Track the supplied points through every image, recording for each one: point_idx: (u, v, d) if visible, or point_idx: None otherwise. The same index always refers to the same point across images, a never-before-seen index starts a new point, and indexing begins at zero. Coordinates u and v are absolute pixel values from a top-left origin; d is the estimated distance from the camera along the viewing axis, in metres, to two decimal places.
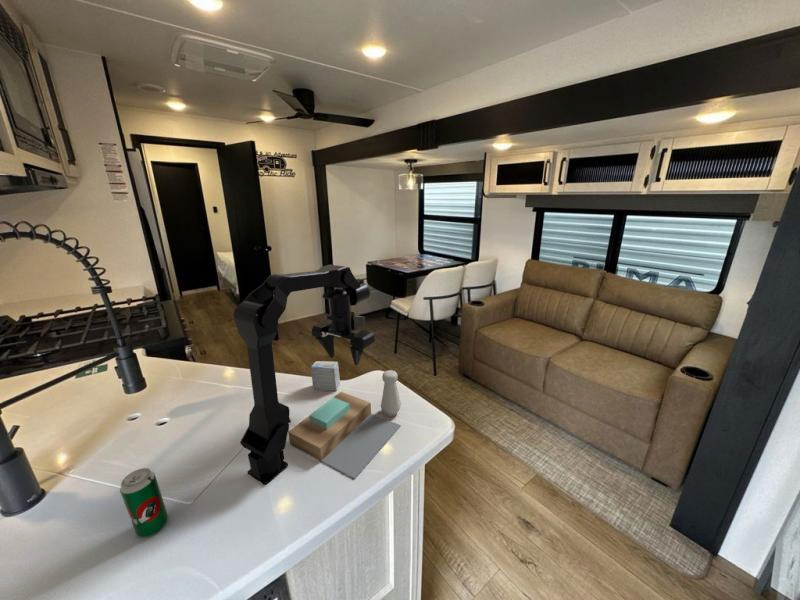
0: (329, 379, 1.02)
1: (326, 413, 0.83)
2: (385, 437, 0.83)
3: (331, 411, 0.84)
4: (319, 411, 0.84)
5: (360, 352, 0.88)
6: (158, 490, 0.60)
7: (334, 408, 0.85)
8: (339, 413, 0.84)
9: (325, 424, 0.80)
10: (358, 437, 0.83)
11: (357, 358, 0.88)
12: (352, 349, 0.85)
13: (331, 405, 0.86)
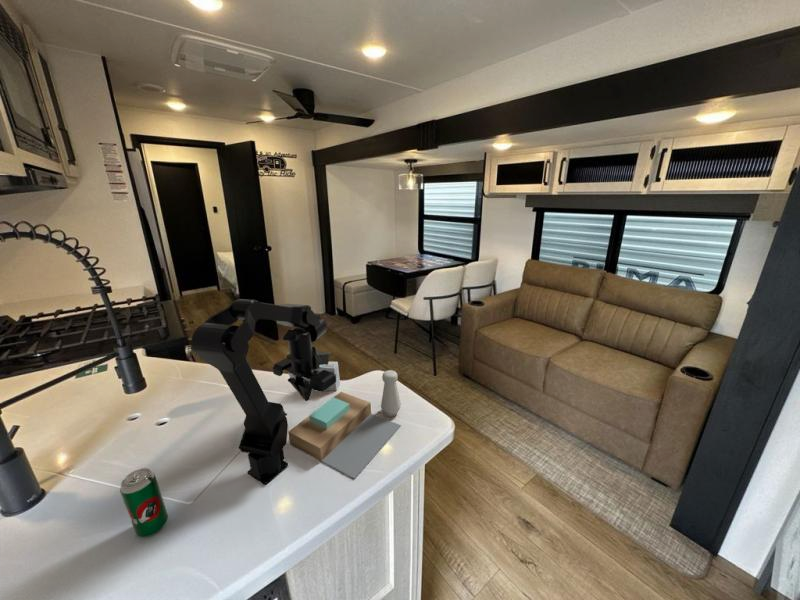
0: None
1: (326, 413, 0.83)
2: (385, 437, 0.83)
3: (331, 411, 0.84)
4: (319, 411, 0.84)
5: (310, 388, 0.87)
6: (158, 490, 0.60)
7: (334, 408, 0.85)
8: (339, 413, 0.84)
9: (325, 424, 0.80)
10: (358, 437, 0.83)
11: (307, 394, 0.87)
12: (300, 386, 0.84)
13: (331, 405, 0.86)
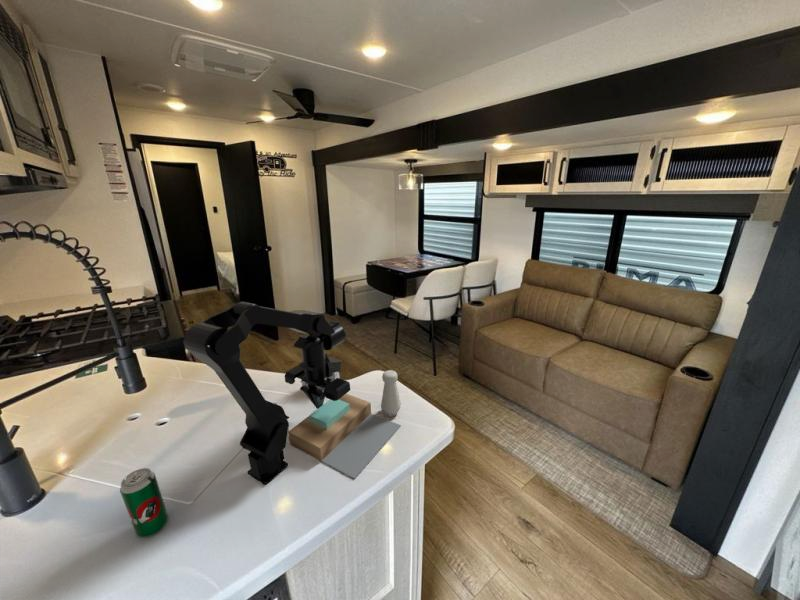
0: None
1: (326, 413, 0.83)
2: (385, 437, 0.83)
3: (331, 411, 0.84)
4: (319, 411, 0.84)
5: (323, 396, 0.86)
6: (158, 490, 0.60)
7: (334, 408, 0.85)
8: (339, 413, 0.84)
9: (325, 424, 0.80)
10: (358, 437, 0.83)
11: (319, 403, 0.85)
12: (313, 395, 0.82)
13: (331, 405, 0.86)
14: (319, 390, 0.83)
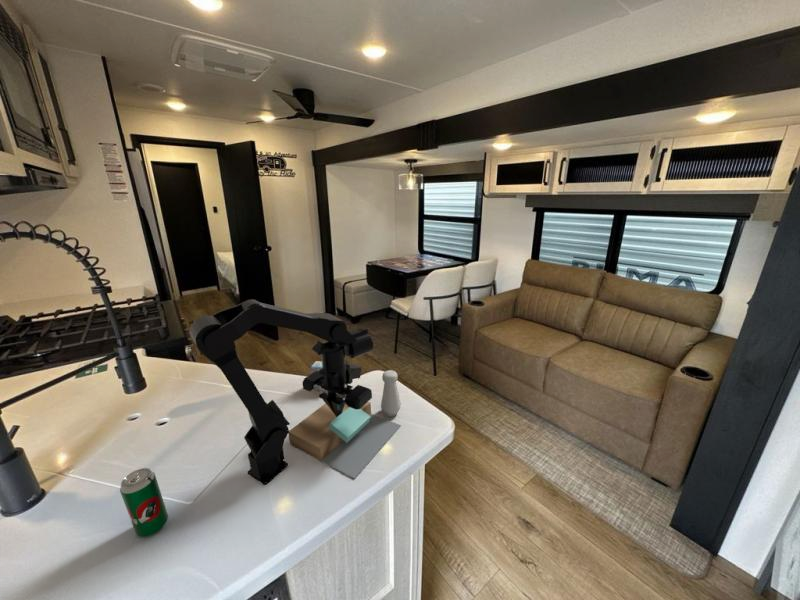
0: None
1: (347, 424, 0.80)
2: (385, 437, 0.83)
3: (352, 422, 0.80)
4: (340, 420, 0.80)
5: (342, 404, 0.82)
6: (158, 490, 0.60)
7: (355, 419, 0.82)
8: (360, 426, 0.81)
9: (346, 438, 0.77)
10: (358, 437, 0.83)
11: (339, 411, 0.82)
12: (333, 403, 0.79)
13: (352, 414, 0.83)
14: (339, 398, 0.79)
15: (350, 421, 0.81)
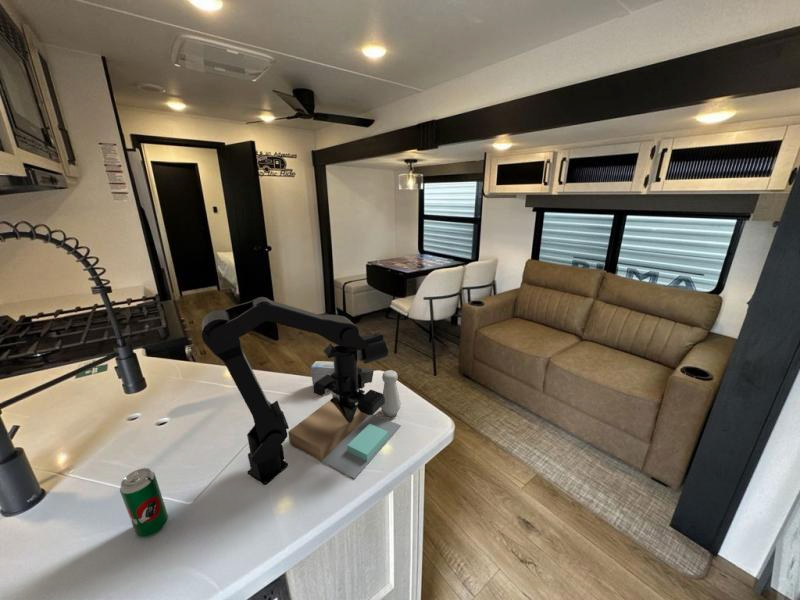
0: None
1: None
2: None
3: None
4: None
5: (354, 408, 0.80)
6: (158, 490, 0.60)
7: None
8: None
9: (348, 450, 0.78)
10: None
11: (351, 416, 0.80)
12: (345, 408, 0.77)
13: None
14: (351, 403, 0.77)
15: None
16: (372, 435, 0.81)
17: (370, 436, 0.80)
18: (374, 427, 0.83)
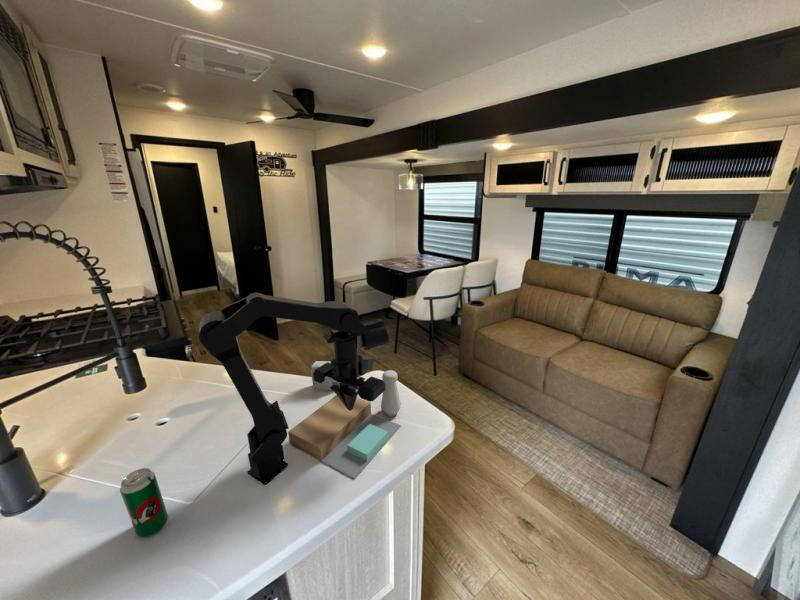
0: (329, 379, 1.02)
1: None
2: None
3: None
4: None
5: (354, 396, 0.79)
6: (158, 490, 0.60)
7: None
8: None
9: (348, 450, 0.78)
10: None
11: (351, 403, 0.79)
12: (345, 395, 0.76)
13: None
14: (352, 390, 0.76)
15: None
16: (372, 435, 0.81)
17: (370, 436, 0.80)
18: (374, 427, 0.83)
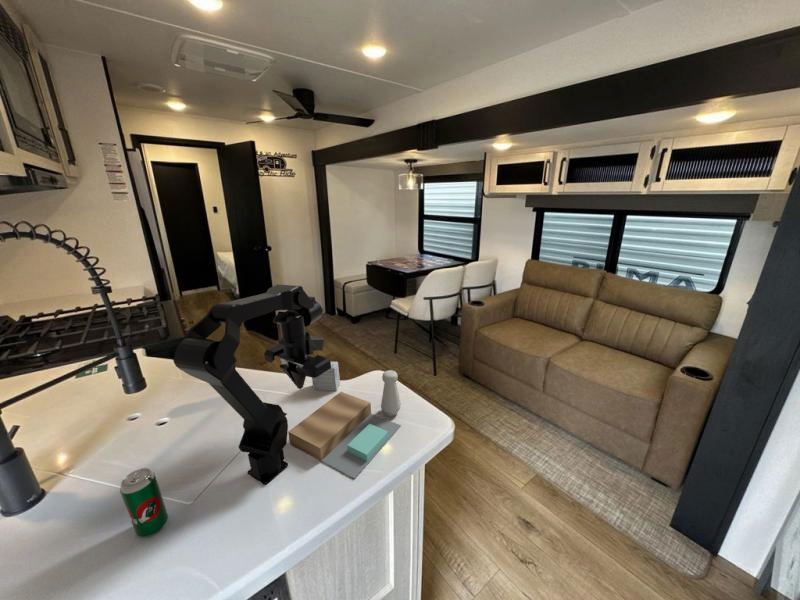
0: (329, 379, 1.02)
1: None
2: None
3: None
4: None
5: (303, 375, 0.83)
6: (158, 490, 0.60)
7: None
8: None
9: (348, 450, 0.78)
10: None
11: (300, 382, 0.82)
12: (292, 372, 0.79)
13: None
14: (299, 368, 0.79)
15: None
16: (372, 435, 0.81)
17: (370, 436, 0.80)
18: (374, 427, 0.83)
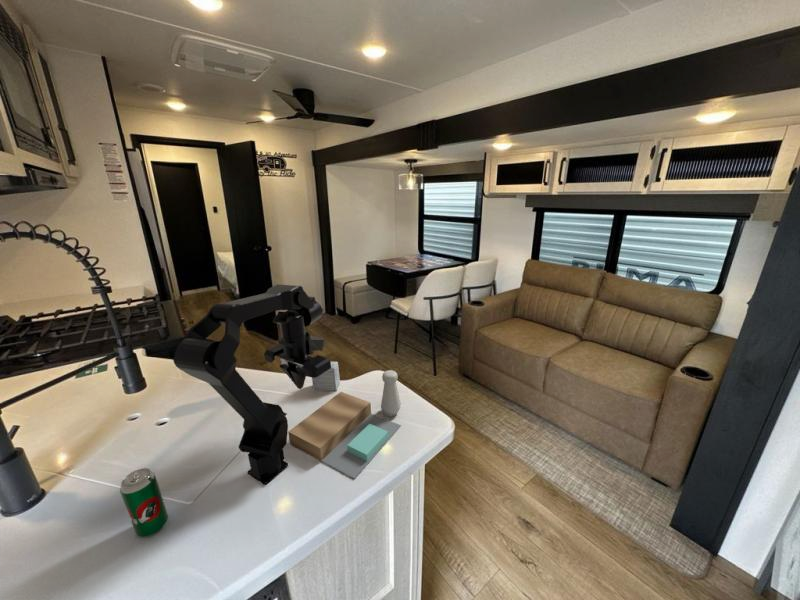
0: (329, 379, 1.02)
1: None
2: None
3: None
4: None
5: (303, 375, 0.83)
6: (158, 490, 0.60)
7: None
8: None
9: (348, 450, 0.78)
10: None
11: (300, 382, 0.82)
12: (292, 372, 0.79)
13: None
14: (299, 368, 0.79)
15: None
16: (372, 435, 0.81)
17: (370, 436, 0.80)
18: (374, 427, 0.83)
